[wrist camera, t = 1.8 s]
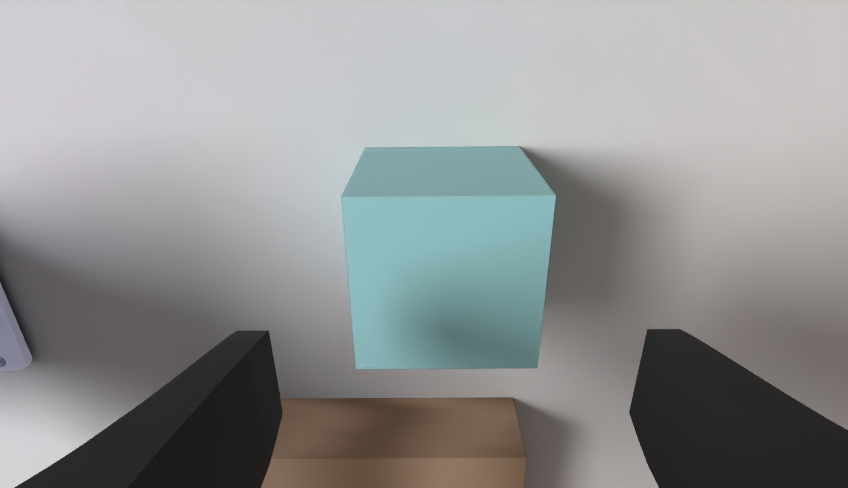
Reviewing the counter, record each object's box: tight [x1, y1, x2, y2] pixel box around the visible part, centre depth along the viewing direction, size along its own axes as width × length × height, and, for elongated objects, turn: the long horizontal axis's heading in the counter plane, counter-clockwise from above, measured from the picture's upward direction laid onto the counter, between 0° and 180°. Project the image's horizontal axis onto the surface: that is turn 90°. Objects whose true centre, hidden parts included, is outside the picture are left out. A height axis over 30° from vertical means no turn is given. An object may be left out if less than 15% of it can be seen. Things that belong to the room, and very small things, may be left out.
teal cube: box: [341, 146, 556, 369], centre depth 15 cm, size 5×5×5 cm
